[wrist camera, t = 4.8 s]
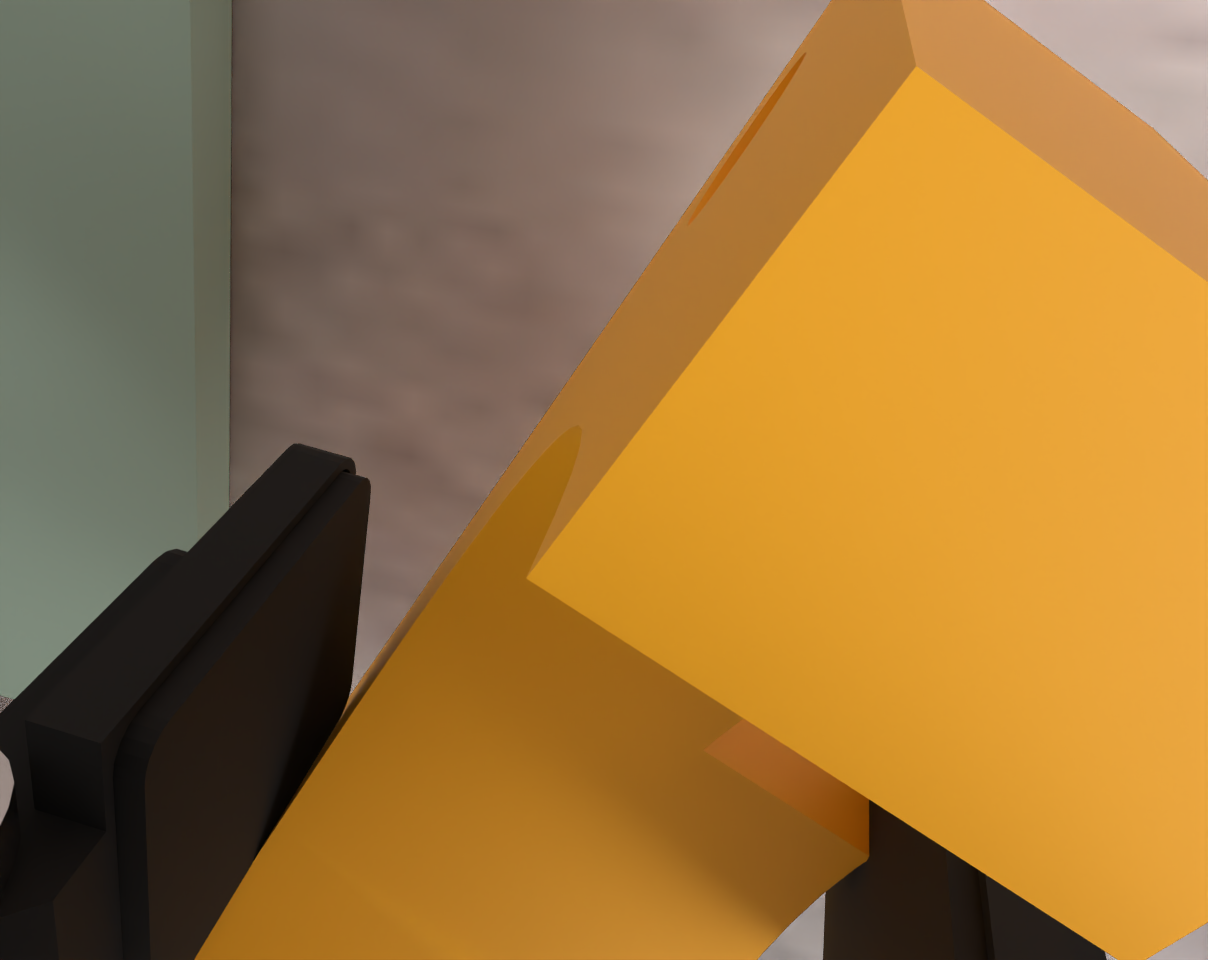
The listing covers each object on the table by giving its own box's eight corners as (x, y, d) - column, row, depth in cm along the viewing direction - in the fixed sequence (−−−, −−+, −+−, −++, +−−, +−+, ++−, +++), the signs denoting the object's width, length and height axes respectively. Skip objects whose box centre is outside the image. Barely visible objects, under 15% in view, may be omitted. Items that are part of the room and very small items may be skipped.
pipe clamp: (559, 962, 15) (375, 1618, 9) (281, 795, 14) (-88, 1383, 9) (1327, 259, 9) (2127, 963, 3) (883, -75, 8) (919, 65, 3)
